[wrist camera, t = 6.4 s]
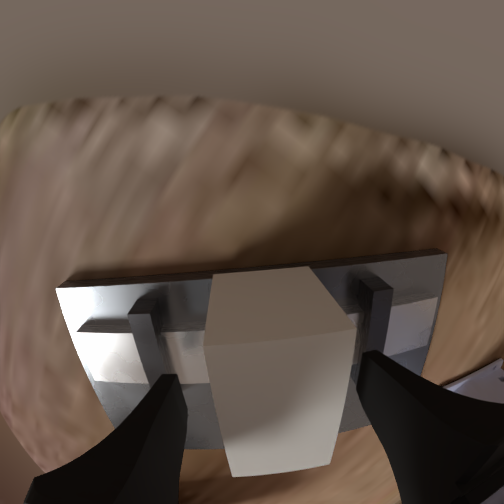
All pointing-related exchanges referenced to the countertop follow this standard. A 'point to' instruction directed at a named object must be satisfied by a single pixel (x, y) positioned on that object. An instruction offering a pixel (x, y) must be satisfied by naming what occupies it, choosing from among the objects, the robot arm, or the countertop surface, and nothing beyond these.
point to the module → (277, 368)
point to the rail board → (194, 321)
